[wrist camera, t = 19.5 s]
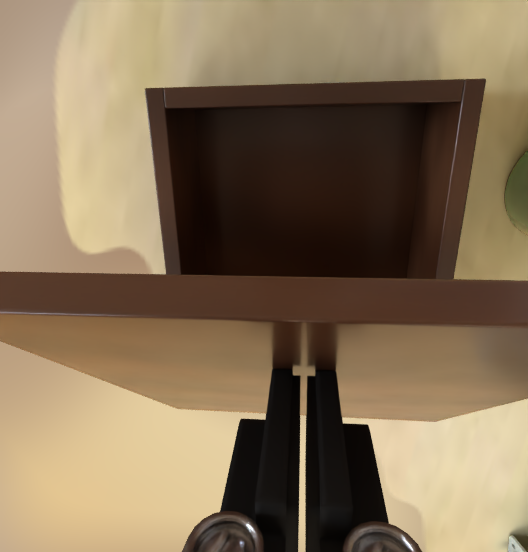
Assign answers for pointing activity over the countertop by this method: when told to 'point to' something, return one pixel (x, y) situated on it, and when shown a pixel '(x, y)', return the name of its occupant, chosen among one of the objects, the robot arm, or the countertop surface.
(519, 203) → the pot
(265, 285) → the bin lid
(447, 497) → the countertop surface
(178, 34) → the countertop surface
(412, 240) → the bin
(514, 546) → the metal bracket
